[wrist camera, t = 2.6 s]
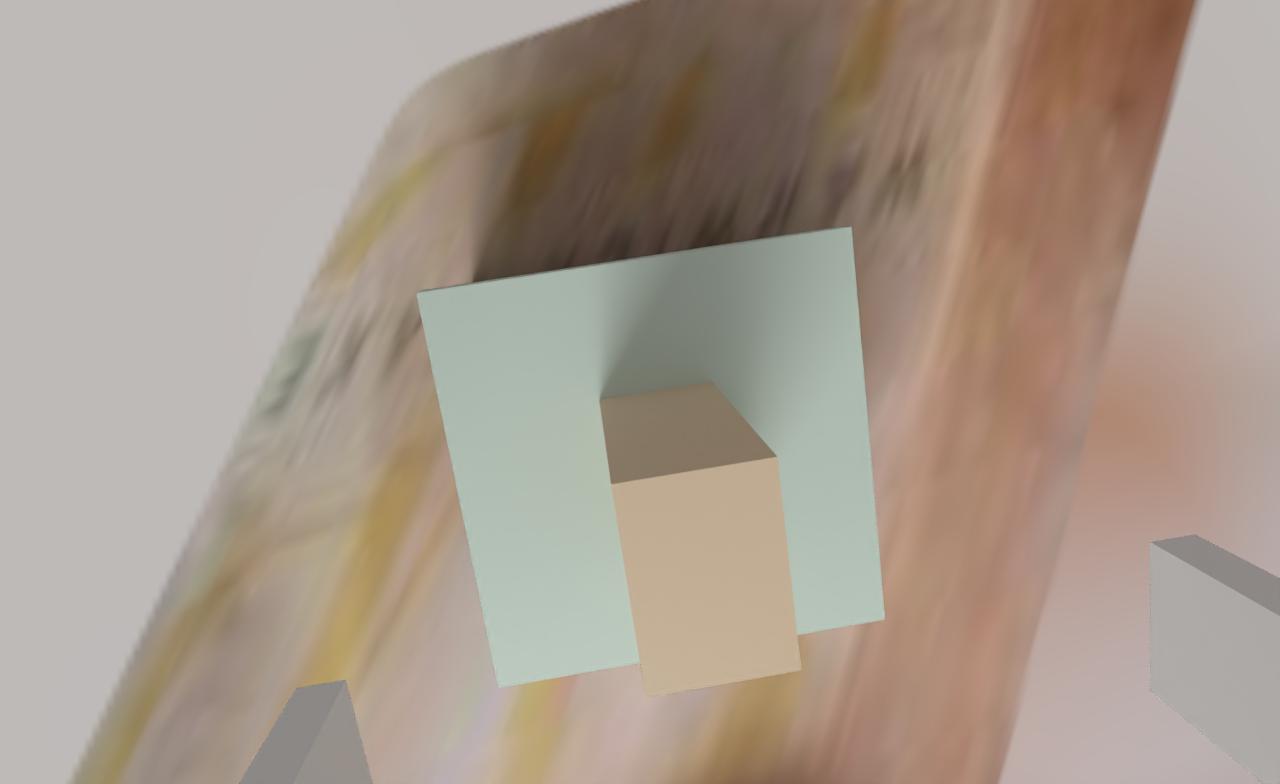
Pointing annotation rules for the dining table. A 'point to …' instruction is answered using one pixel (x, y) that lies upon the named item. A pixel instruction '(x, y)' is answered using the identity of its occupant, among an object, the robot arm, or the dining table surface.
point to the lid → (663, 459)
